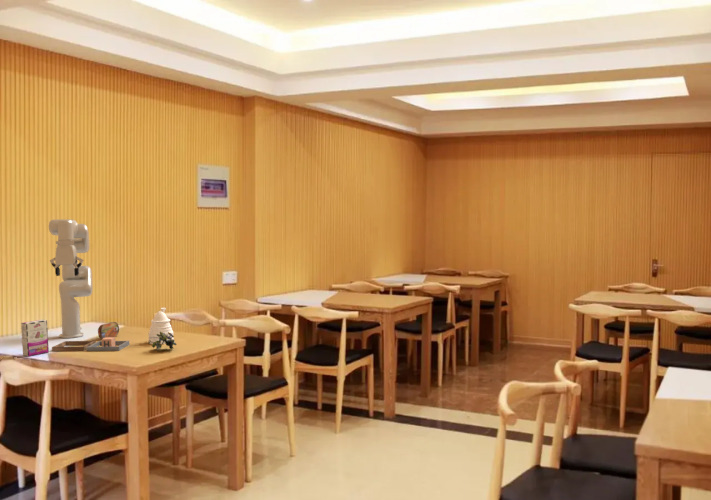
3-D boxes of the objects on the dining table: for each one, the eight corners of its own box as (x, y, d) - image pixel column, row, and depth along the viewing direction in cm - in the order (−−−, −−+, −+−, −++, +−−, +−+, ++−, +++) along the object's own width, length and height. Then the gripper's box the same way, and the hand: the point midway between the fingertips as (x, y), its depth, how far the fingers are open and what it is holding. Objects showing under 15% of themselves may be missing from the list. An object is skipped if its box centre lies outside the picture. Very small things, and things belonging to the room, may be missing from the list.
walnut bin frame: (65, 344, 357) (65, 341, 357) (95, 344, 358) (95, 340, 357) (52, 351, 341) (51, 347, 341) (83, 350, 342) (83, 346, 342)
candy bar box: (43, 351, 341) (41, 319, 340) (49, 352, 338) (47, 320, 337) (21, 355, 331) (20, 322, 330) (28, 356, 328) (26, 323, 327)
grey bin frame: (98, 344, 357) (98, 341, 356) (129, 344, 357) (129, 340, 357) (87, 351, 341) (87, 347, 341) (119, 350, 341) (118, 346, 341)
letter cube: (105, 347, 351) (105, 337, 351) (115, 346, 351) (115, 337, 351) (101, 349, 346) (101, 339, 346) (111, 348, 346) (111, 339, 346)
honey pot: (163, 338, 372) (162, 306, 371) (178, 341, 364) (177, 308, 363) (143, 342, 361) (142, 309, 360) (159, 345, 354) (158, 311, 353)
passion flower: (170, 360, 343) (182, 341, 340) (153, 360, 334) (165, 341, 331) (160, 345, 349) (171, 327, 346) (143, 344, 340) (154, 326, 337)
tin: (101, 340, 369) (101, 325, 368) (97, 340, 370) (96, 324, 369) (119, 335, 383) (119, 320, 383) (115, 335, 384) (114, 320, 384)
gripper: (46, 243, 354) (47, 276, 355) (79, 243, 354) (80, 276, 355) (52, 243, 361) (53, 275, 362) (85, 242, 361) (86, 274, 362)
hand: (67, 275), depth 358 cm, fingers open, 9 cm apart
